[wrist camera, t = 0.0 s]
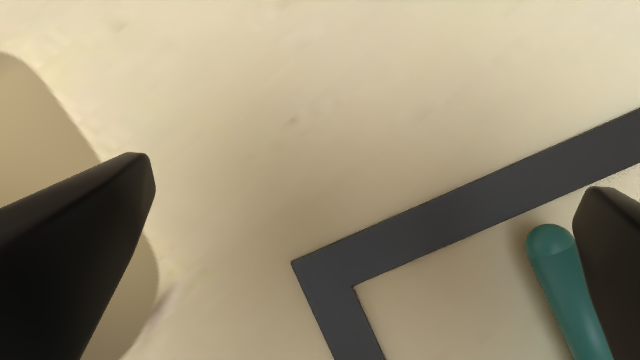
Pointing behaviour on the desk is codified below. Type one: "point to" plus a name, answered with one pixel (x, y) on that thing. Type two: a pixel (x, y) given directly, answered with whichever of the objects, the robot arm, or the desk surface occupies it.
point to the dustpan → (566, 290)
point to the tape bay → (452, 226)
